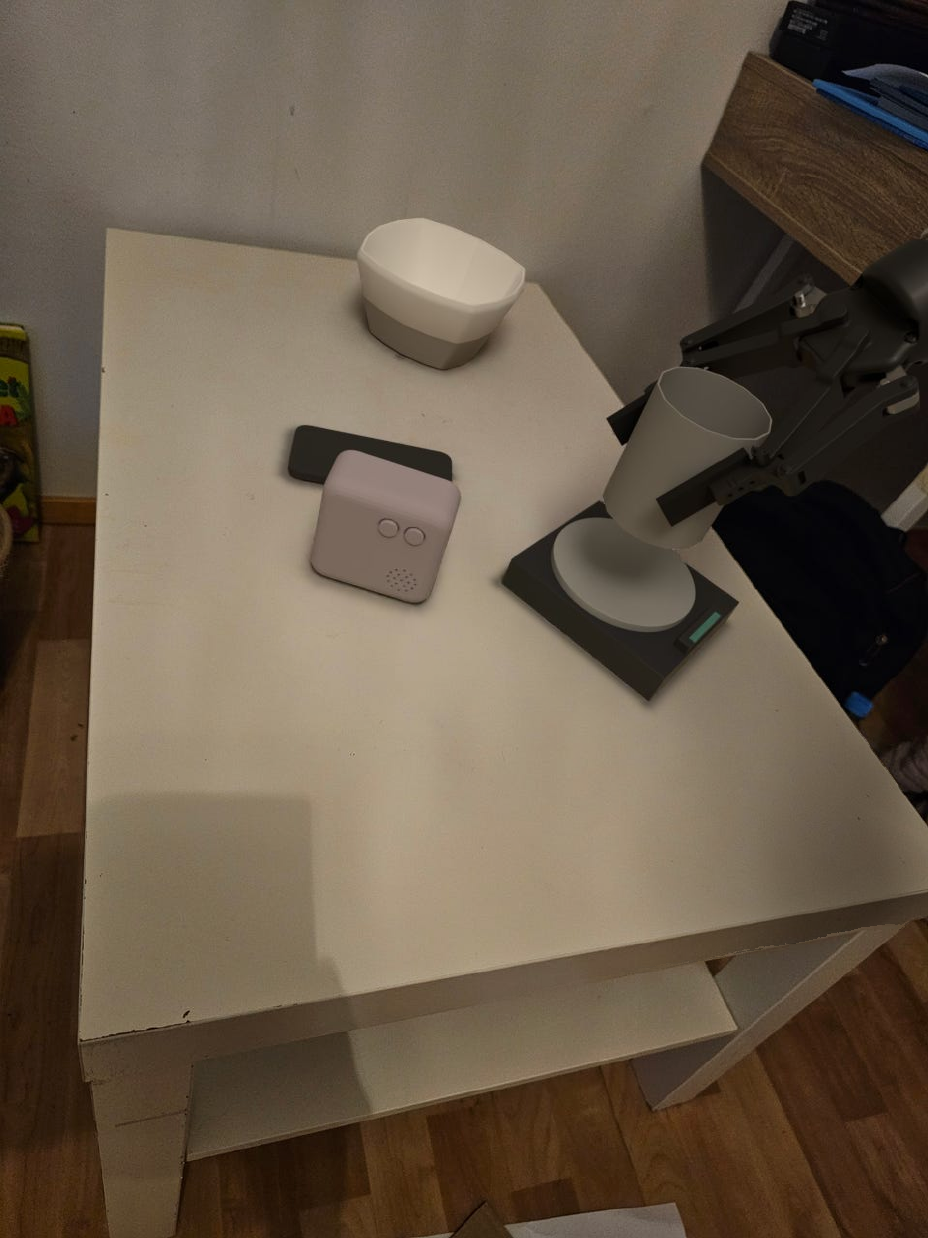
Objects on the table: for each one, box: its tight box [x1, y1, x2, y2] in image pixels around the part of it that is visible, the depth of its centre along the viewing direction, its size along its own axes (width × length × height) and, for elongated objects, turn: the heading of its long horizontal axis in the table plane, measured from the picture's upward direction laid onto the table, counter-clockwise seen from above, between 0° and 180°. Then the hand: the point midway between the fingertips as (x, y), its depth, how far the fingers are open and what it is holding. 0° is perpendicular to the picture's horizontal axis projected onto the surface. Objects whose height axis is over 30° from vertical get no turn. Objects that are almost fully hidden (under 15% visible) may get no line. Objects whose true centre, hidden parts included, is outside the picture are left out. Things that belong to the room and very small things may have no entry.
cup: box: [601, 366, 773, 550], centre depth 60 cm, size 8×8×10 cm
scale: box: [501, 499, 740, 702], centre depth 73 cm, size 16×14×4 cm
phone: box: [287, 424, 453, 484], centre depth 77 cm, size 7×1×15 cm
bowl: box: [356, 217, 527, 370], centre depth 93 cm, size 18×18×9 cm
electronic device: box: [310, 450, 462, 604], centre depth 65 cm, size 10×5×10 cm, turn 80°
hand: (637, 470), depth 60 cm, fingers closed on cup, 8 cm apart
